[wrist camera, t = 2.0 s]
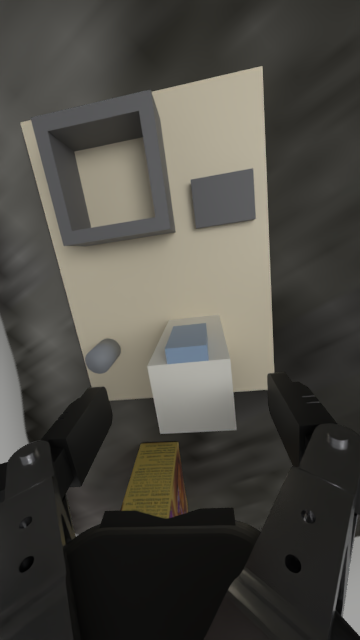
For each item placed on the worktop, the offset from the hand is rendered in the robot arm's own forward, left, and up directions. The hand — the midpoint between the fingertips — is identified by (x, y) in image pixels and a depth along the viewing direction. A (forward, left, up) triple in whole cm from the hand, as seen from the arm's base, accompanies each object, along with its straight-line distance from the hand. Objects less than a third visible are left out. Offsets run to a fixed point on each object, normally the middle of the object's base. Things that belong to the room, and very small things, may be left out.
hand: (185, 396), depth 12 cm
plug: (0, 0, -8) cm, 8 cm away
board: (+2, -6, -9) cm, 11 cm away
